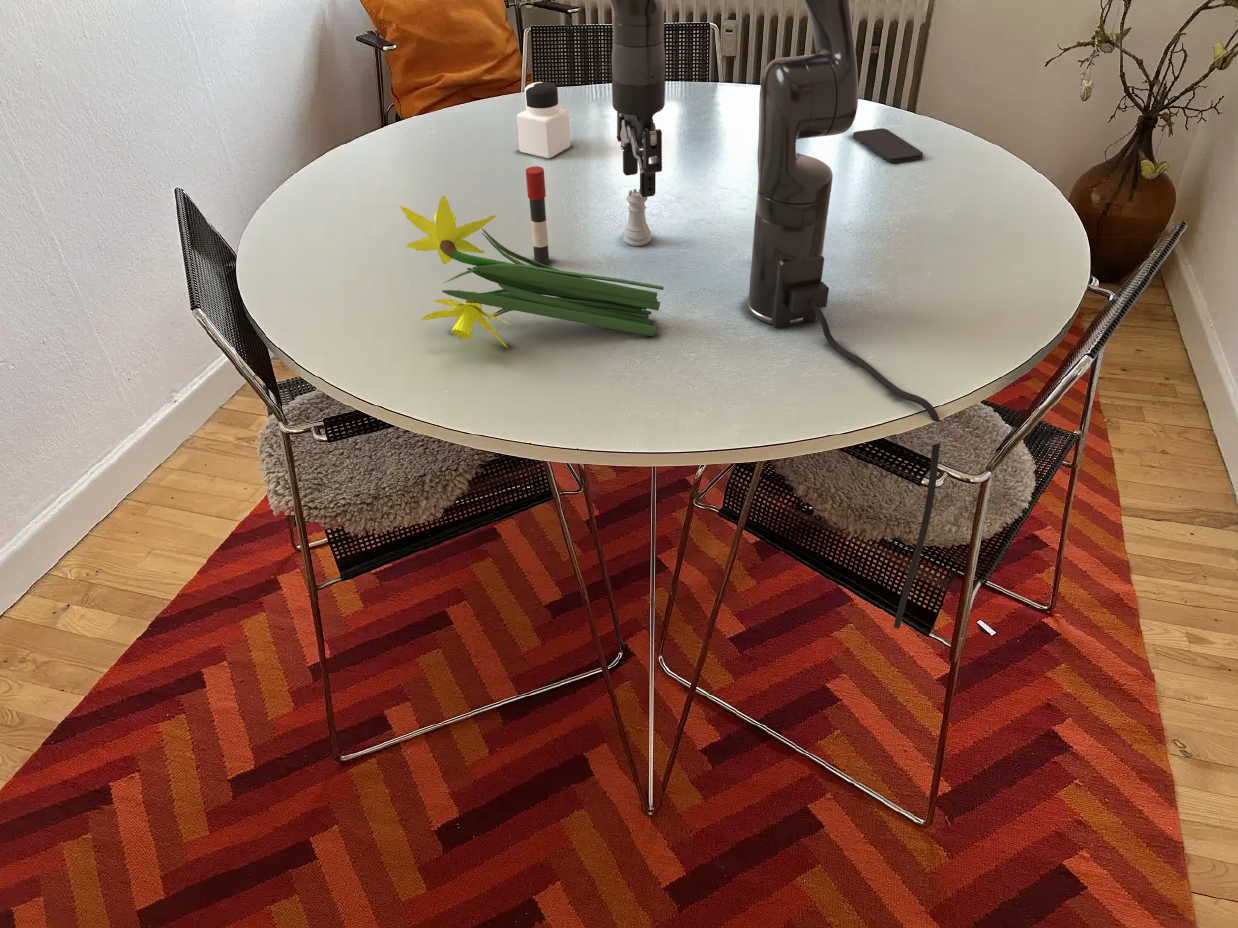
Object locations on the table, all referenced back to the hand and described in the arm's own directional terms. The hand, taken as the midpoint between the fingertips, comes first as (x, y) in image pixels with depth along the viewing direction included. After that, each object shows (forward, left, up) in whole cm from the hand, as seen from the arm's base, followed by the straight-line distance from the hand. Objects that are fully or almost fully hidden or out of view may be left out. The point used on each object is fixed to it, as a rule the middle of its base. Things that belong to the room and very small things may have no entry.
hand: (638, 184), depth 139 cm
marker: (-2, +17, -9) cm, 19 cm away
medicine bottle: (+43, +4, -9) cm, 44 cm away
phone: (+21, -56, -9) cm, 61 cm away
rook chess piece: (0, +1, -9) cm, 9 cm away
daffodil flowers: (-21, +21, -9) cm, 31 cm away
